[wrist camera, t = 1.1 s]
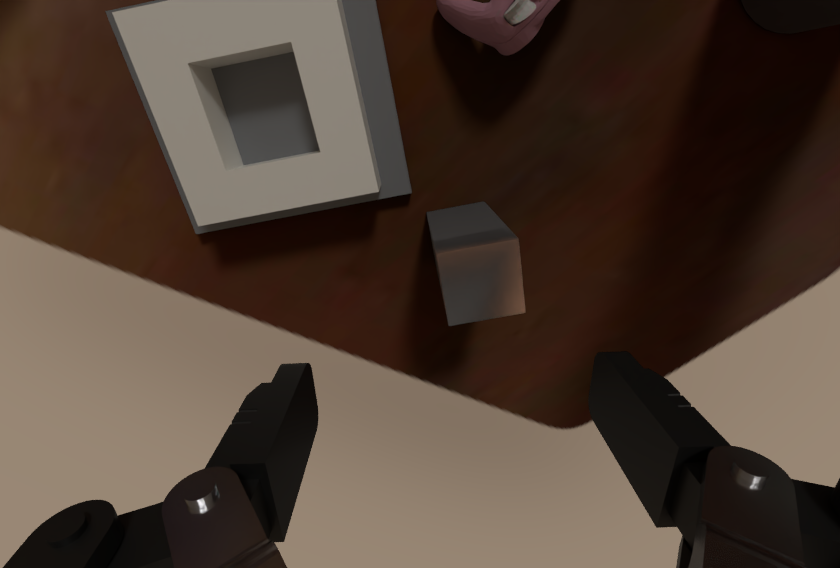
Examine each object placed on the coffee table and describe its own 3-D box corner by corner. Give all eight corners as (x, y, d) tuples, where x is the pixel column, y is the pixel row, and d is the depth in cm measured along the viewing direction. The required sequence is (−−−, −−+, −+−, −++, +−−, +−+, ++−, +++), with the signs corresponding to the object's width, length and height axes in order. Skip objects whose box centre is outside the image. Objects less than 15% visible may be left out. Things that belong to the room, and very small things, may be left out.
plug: (484, 201, 31) (518, 238, 21) (490, 256, 32) (525, 312, 23) (426, 212, 31) (436, 254, 22) (435, 266, 33) (448, 326, 23)
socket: (368, -39, 25) (361, -66, 21) (411, 190, 30) (412, 201, 26) (116, 15, 25) (67, -2, 22) (202, 230, 31) (175, 246, 27)
